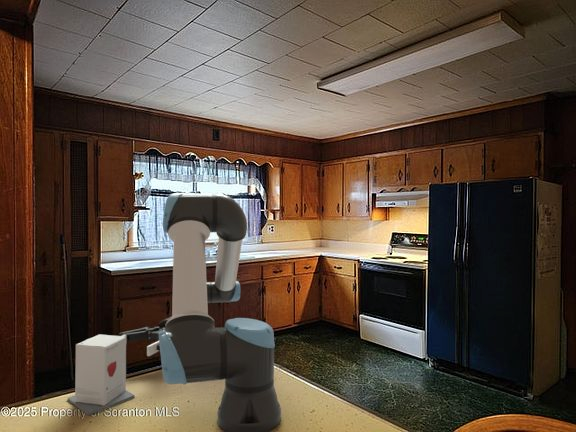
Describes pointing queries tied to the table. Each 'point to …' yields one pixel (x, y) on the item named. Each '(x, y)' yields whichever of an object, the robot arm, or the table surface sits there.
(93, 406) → the mat
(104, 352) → the supplement box
